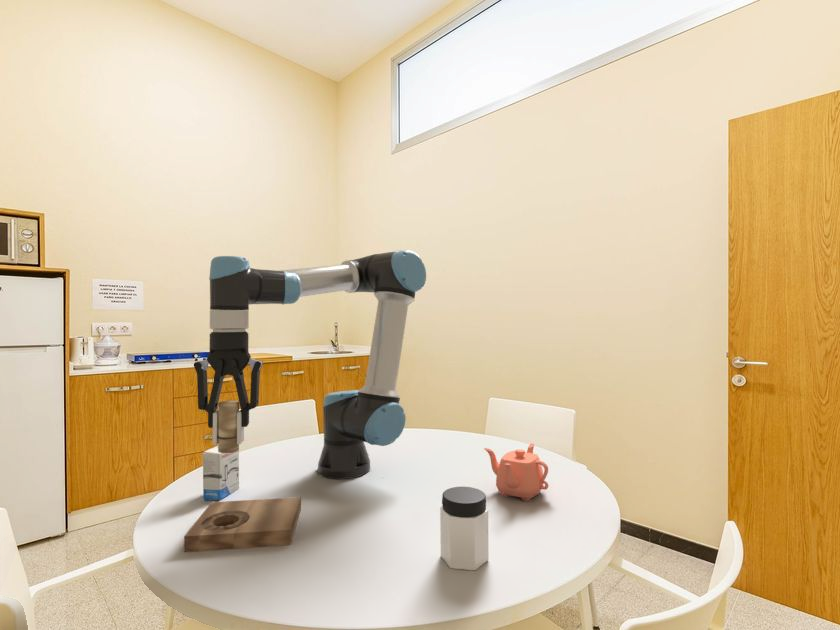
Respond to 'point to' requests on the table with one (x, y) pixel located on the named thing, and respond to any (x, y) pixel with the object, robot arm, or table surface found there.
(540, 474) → the teapot
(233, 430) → the dowel
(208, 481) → the ink box
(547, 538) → the table surface
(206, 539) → the board
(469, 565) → the jar
